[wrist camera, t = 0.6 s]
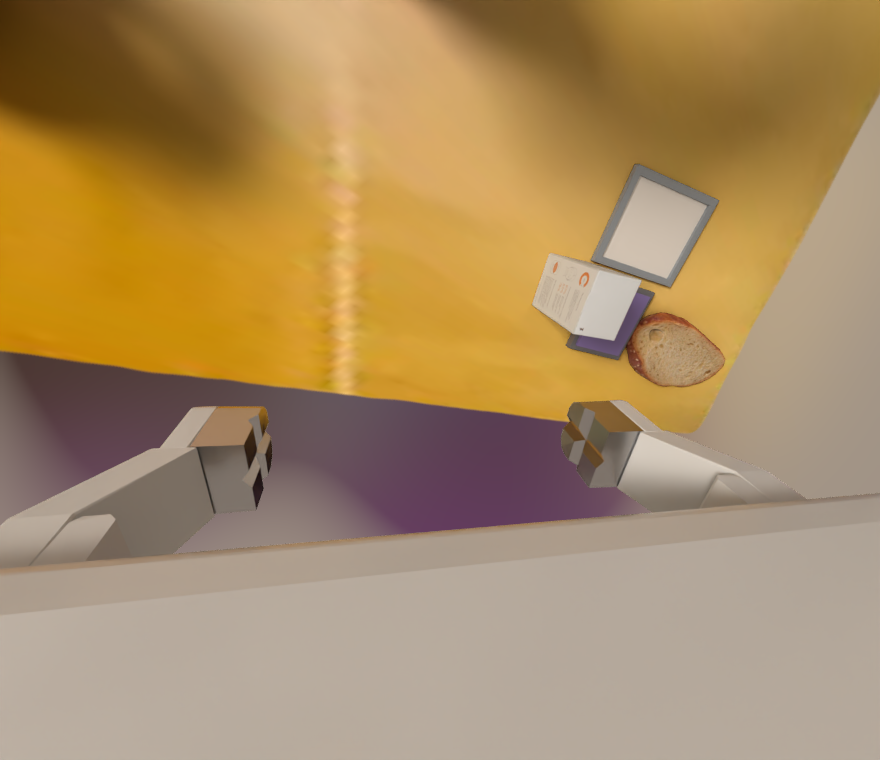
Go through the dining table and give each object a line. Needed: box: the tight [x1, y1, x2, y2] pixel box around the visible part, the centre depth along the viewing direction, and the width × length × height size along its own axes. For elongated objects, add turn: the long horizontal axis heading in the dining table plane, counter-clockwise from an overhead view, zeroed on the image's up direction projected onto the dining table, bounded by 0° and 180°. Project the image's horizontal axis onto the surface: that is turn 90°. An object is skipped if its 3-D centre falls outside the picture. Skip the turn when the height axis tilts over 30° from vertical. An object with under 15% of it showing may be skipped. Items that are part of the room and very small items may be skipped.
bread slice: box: [626, 313, 725, 387], centre depth 64 cm, size 18×18×4 cm
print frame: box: [591, 164, 719, 287], centre depth 54 cm, size 13×15×1 cm
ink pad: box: [566, 288, 655, 360], centre depth 59 cm, size 12×10×2 cm
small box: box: [532, 253, 642, 341], centre depth 50 cm, size 8×6×13 cm
